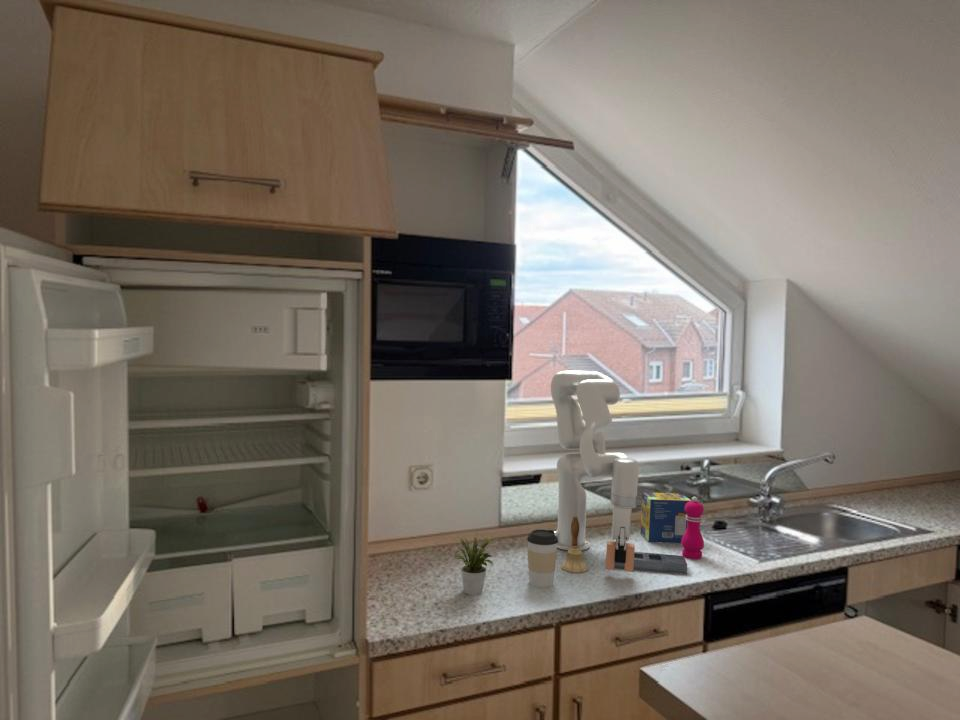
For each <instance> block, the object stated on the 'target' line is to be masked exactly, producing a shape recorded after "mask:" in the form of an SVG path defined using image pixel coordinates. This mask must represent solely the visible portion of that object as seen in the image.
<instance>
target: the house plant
mask: <svg viewBox="0 0 960 720" xmlns="http://www.w3.org/2000/svg"><path fill="white" fill-rule="evenodd" d="M478 533H479V532H478V531H477V532H476V534H475V536H474V539H473V544H472V548H470V545H469V542H468V540H467V538H466V537H465V536H464V535H462V534H460V536H458V537H457V538H458V540H460V541H461V543H462V544H458V545H457V546H460V547H458V549H459V550H460V551H461V552H462V554H463V556H464V557H463V556H462V555H461V554H460V553H459V554H458V553H456V554H454V555H452V557H453V558H455V560H458V561H461V562H463V563H464V564H465V565H463V566H462V567H461V568H460V570H461V579H462V585H463V586H462V588H463V592H464V593H465V594H467V595H471V596H475V595H477V596H478V595H481V594H482V593H483V590H484V585H485V580H486V575H487V568H488V563H489V564H491V565H492V567H494V565H493V564H494V562H493V561H492V560H490V559H487V558H491V557H492V558H493V557H494V556H493V555H492V554H490V553H489V552H485V551H486V549H488V547H491V546H492V545H493V546H494V543H492V544H490V545H489V542H490V541H491V539H493V538H494V535H493V536H490V537H489V538H487V539H486V540H485V541H484V542H483V544H482V545H480V547H479V548H478V546H479V544H480V542H482V541H483V540H484V539H485V538H486V537H485V538H482V539H481V540H480V541H479V542H478V538H477V536H478ZM461 536H462V537H463V538H464V539H465V540H464V539H463V538H462V537H461ZM446 538H448V539H450V537H447V536H446ZM451 539H452V540H454V541H456V539H455V538H454V537H451ZM488 545H489V546H488ZM487 546H488V547H487ZM486 547H487V548H486ZM464 549H465V550H464Z"/></svg>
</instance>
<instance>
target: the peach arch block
mask: <svg viewBox="0 0 960 720" xmlns="http://www.w3.org/2000/svg"><path fill="white" fill-rule="evenodd" d="M616 543H617V542H616V541H614V540H613V541H612V540H606V551H605V553H606V555H605V570H612V571H614V570H615V567H614V560H615V549H616ZM618 543H620V542H618ZM635 549H636V547H635V543H633V542H632V543H631V542H626V562H625V566H624V568H623V569H624V572H628V573H629V572H631V573H633V572H634V569H633V567H634V552H636V551H635Z"/></svg>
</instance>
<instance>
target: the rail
mask: <svg viewBox="0 0 960 720" xmlns="http://www.w3.org/2000/svg"><path fill="white" fill-rule="evenodd" d="M624 566H625V563H617V562H615V560H614V569H615V568H618V569H625V568H624ZM633 570H639V571H651V572H661V573H670V574H671V573H672V574H680V573H682V574H681V575H687V574H688V563H687V560H686V557H684V556H683V555H676V554H675V555H674V554H668V553H667V554H665V553H655V552H642V551H641V552H640V551H635V552H634V567H633Z"/></svg>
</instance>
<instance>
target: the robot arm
mask: <svg viewBox="0 0 960 720" xmlns="http://www.w3.org/2000/svg"><path fill="white" fill-rule="evenodd" d="M550 394H551V395H550V396H551V398H552V402H553V405H554V408H555V412H556V424H557V433H558V434H557V435H558V436H557V437H558V442H559V445H560V447H561V448H562V449H565V450H571V451H573V450H575V451H576V450H579V452H578V453H566V454H564V455H562V456H560V457H559V458H558V459H557V463H556V473H557V480H558V504H557V505H558V507H557V509H558V510H557V527H556V530H553V531H554V533H555V535H556V536H557V537H558V543H557V549H559V550H563V551H568V550H569V549H572V533H571V523H572V520H573V517H577V518H578V522H579V534H578V537H577V542H578V543H577V544H578V549H579V550H581V551H582V552H583V551H586V550H589V548H590V542H589V541H588V540H586V527H587V526H586V524H587V523H586V522H587V520H586V519H587V497H588V496H587V493H586V491H585V490H586V489H584V487H583V486H582V484H581V483H583V482H584V483H585V482H595V481H601V480H603V479H606V478H611V489H610V490H611V491H610V505H611V506H613V508H612V509H613V510H612V521H611V522H612V523H611V539H612V540H613V541H614V540H615V542H617V543H616V549H615V562H617V563H625V562H626V543H627V542H628V541H629V540H630V535H631V524H632V512H633V509H635V508H636V507H637V499H638V498H637V497H638V486H639V485H638V483H639V472H640V471H639V469H640V466H639V465H640V463H639V462H638V461H637V460H636V459H634V458H632V457H631V458H630V457H629V456H628V455H627V454H625V453H623V452H618V451H616V452H615V451H613V452H611V451H610V452H608V451H606V450H607V449H606V441H605V434H604V433H605V432H604V431H605V430H606V429H608V428H609V427H610V426H611V425H612V423H613V418H612V415H611V412H610V410H609V406H613V405H616V404H617V403H618V402H619V401H620V397H621V392H620V388H619V385H618V384H617V382H615V380H614V379H612V378H611V377H609V376H607V375H605V374H603V373H602V372H599V371H597V370H595V371H594V370H562V371H559V372H556V373H555V374H554V375H553V376H552V378H551V382H550ZM573 396H576V397H577V400H578V402H577V401H576V399H575V398H573ZM582 418H583V419H582ZM583 420H584V421H583ZM618 542H620V543H618Z"/></svg>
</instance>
